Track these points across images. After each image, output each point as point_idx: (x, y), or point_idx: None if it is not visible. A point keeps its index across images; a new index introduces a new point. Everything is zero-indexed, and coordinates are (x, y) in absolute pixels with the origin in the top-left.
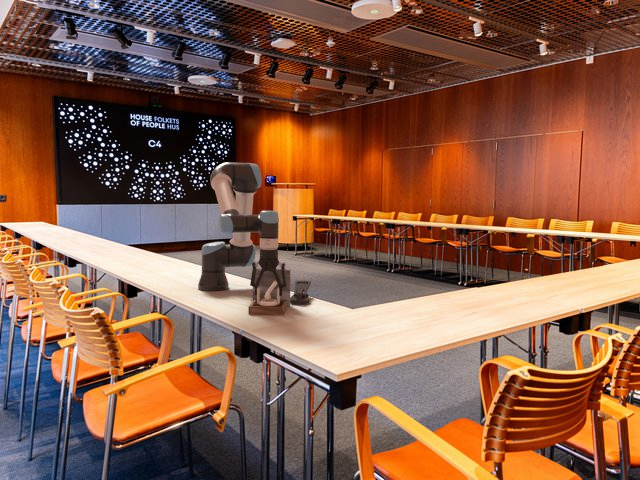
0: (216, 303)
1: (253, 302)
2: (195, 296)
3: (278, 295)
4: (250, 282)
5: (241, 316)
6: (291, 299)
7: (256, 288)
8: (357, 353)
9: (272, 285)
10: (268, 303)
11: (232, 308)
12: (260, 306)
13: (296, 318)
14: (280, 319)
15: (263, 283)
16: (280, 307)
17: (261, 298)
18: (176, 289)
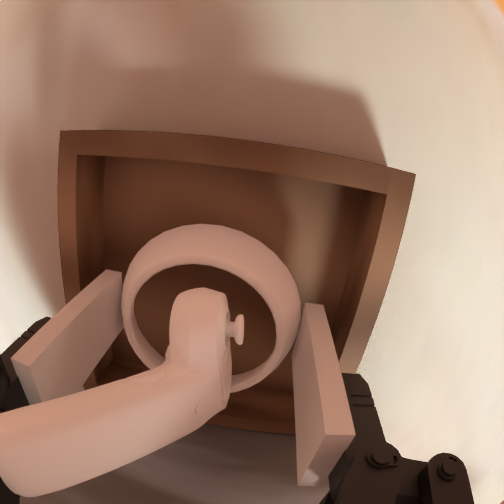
0: (488, 419)
1: (352, 348)
2: (497, 471)
3: (64, 313)
4: (471, 495)
5: (434, 103)
6: None
7: (359, 441)
8: None
9: (58, 417)
10: (195, 240)
11: (462, 343)
12: (288, 169)
13: (30, 63)
14: (121, 11)
15: None
16: (80, 131)
17: (275, 439)
18: (497, 500)
